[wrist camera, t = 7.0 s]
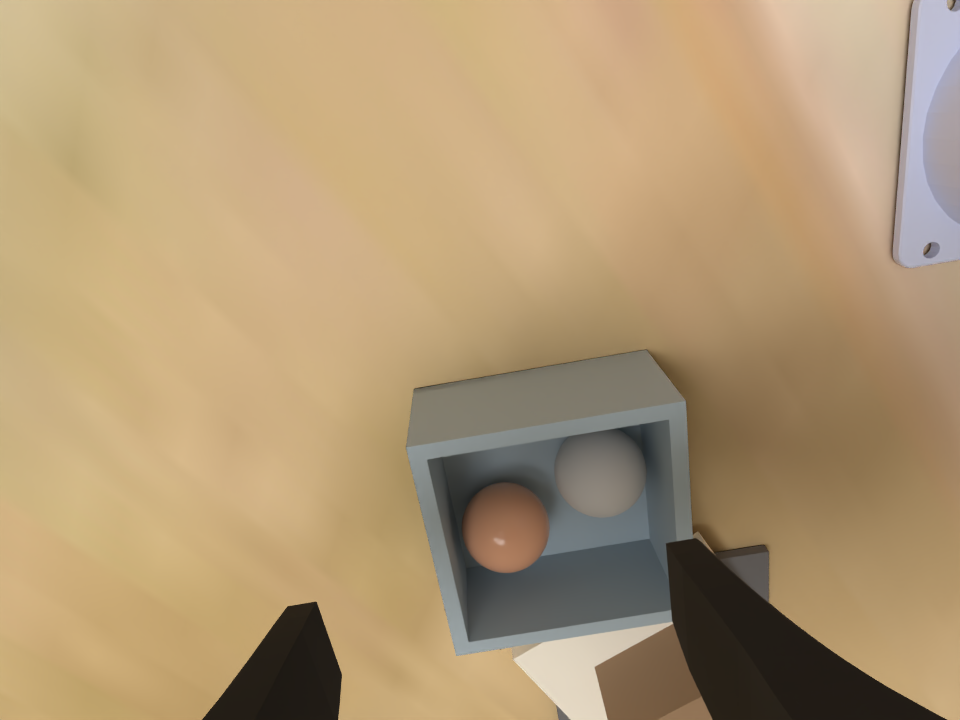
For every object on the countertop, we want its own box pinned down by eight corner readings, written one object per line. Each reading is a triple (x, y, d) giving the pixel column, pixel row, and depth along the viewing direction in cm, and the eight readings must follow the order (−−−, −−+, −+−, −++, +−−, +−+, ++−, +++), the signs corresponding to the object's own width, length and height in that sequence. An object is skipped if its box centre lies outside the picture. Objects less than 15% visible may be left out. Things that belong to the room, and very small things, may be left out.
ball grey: (629, 403, 22) (655, 447, 19) (636, 477, 23) (660, 528, 20) (543, 417, 22) (556, 463, 19) (553, 490, 23) (567, 543, 21)
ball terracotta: (537, 459, 23) (549, 509, 20) (548, 528, 24) (561, 584, 21) (454, 473, 23) (454, 524, 20) (468, 541, 24) (470, 599, 21)
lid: (698, 531, 24) (745, 613, 20) (795, 666, 27) (853, 761, 23) (510, 639, 26) (520, 734, 22) (621, 756, 29) (647, 859, 25)
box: (646, 349, 22) (686, 400, 18) (660, 540, 25) (696, 618, 21) (413, 388, 22) (406, 447, 18) (455, 573, 25) (456, 656, 21)
